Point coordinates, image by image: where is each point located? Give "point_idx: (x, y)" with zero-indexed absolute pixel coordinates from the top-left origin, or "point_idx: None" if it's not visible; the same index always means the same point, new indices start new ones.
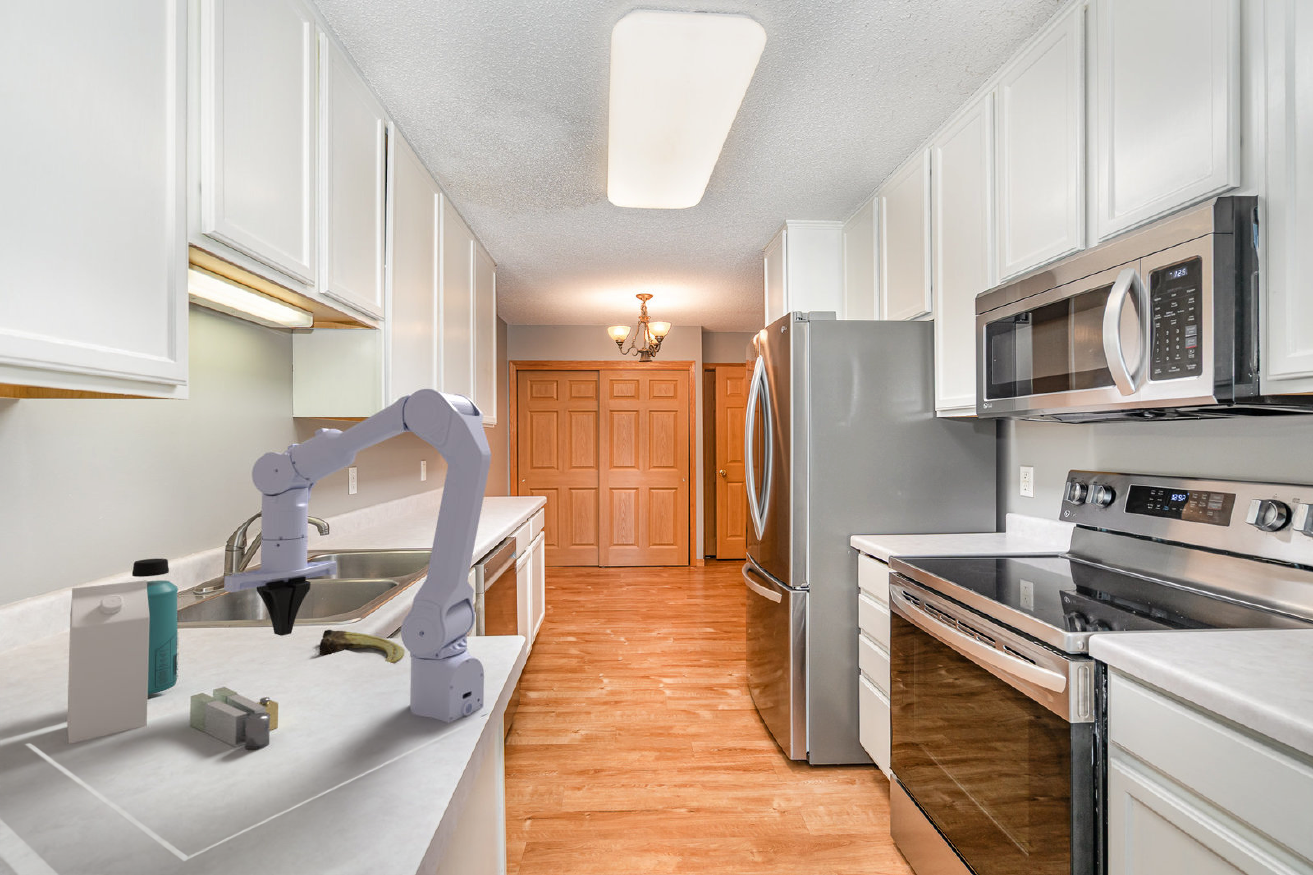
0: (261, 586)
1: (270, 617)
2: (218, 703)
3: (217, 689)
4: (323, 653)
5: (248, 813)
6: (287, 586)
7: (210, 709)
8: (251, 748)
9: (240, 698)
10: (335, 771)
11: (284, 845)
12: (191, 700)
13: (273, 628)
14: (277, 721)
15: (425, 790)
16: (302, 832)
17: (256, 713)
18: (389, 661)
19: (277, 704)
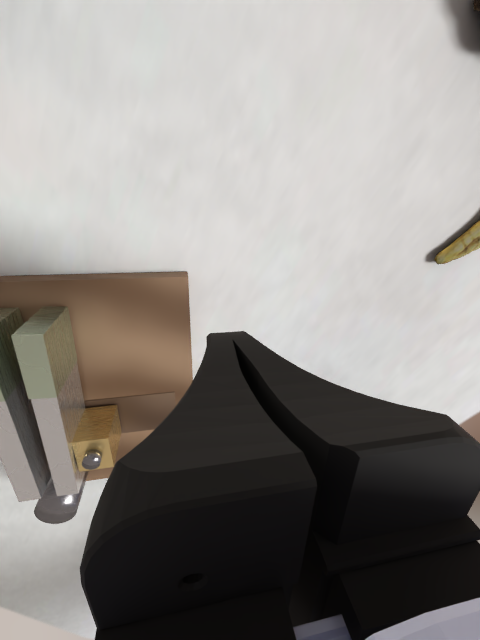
0: (100, 629)
1: (202, 361)
2: (4, 424)
3: (22, 340)
4: (477, 9)
5: (25, 549)
6: (300, 598)
7: None
8: None
9: (54, 427)
10: None
11: (37, 600)
12: None
13: (208, 340)
14: (119, 439)
15: None
16: (58, 592)
17: (58, 498)
18: (450, 259)
19: (112, 465)
